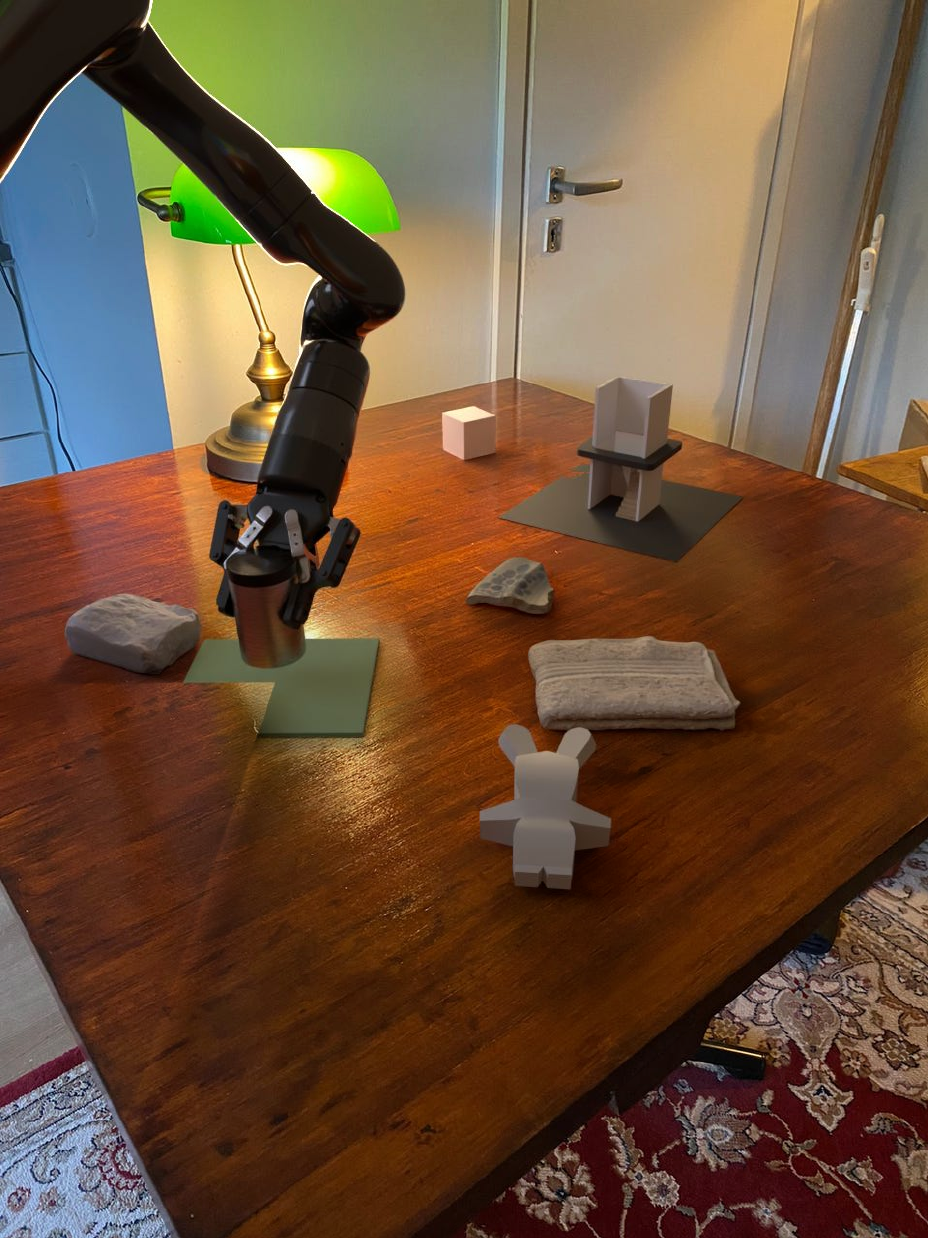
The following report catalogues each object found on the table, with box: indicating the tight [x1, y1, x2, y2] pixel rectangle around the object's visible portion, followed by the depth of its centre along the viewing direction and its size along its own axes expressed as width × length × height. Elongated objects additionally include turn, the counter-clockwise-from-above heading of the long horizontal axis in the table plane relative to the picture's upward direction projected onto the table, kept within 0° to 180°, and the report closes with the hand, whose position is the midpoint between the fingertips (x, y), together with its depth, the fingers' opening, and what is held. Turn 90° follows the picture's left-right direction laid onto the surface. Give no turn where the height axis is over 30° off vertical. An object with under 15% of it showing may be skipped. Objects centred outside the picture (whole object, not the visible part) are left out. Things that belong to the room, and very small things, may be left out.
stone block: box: [64, 593, 203, 676], centre depth 92 cm, size 12×5×10 cm
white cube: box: [441, 405, 497, 461], centre depth 142 cm, size 6×6×6 cm
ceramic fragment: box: [465, 556, 555, 615], centre depth 101 cm, size 11×3×10 cm
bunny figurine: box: [479, 723, 612, 890], centre depth 68 cm, size 10×5×15 cm
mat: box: [182, 637, 381, 739], centre depth 86 cm, size 18×16×1 cm
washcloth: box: [527, 635, 741, 732], centre depth 83 cm, size 12×18×3 cm, turn 91°
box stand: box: [497, 375, 744, 563], centre depth 119 cm, size 25×24×16 cm
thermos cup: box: [226, 545, 306, 669], centre depth 82 cm, size 6×6×10 cm
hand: (258, 620), depth 81 cm, fingers closed on thermos cup, 6 cm apart
